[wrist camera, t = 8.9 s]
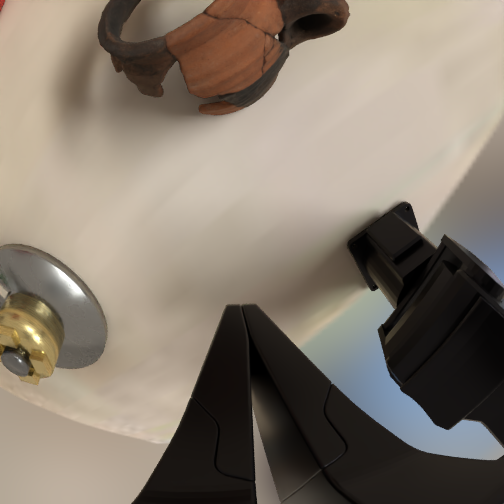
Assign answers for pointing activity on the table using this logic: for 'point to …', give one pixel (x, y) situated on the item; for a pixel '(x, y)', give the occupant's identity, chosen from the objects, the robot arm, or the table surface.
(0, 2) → the plant pot
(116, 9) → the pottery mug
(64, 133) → the table surface
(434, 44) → the table surface
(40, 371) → the lever valve handle
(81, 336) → the spindle flange
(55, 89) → the table surface
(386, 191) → the table surface
